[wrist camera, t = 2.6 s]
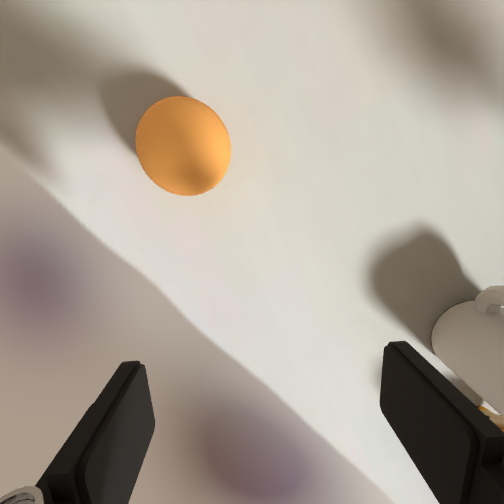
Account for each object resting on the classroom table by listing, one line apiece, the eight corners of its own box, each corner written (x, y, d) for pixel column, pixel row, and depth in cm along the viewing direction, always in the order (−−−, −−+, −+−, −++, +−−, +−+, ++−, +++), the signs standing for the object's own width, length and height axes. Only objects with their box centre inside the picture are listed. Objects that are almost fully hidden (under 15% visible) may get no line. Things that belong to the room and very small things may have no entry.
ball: (148, 113, 19) (107, 82, 13) (229, 109, 19) (223, 76, 13) (160, 196, 21) (128, 201, 15) (235, 191, 21) (232, 195, 15)
